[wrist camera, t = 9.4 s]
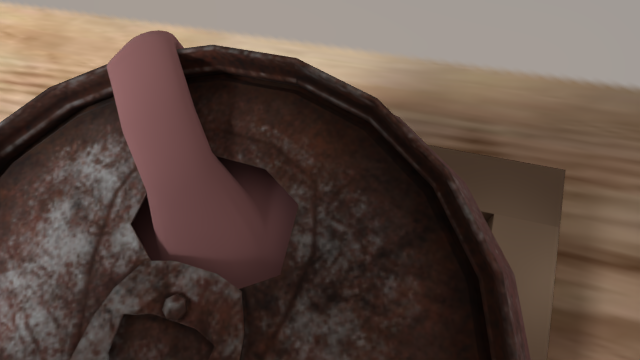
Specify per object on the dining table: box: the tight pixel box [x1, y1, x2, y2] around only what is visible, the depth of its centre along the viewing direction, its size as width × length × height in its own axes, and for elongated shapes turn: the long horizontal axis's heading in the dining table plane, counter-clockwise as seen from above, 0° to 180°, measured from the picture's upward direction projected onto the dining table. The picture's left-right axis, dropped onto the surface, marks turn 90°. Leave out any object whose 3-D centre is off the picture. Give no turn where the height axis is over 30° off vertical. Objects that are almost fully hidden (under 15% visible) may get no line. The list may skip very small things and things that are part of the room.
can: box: [0, 31, 531, 360], centre depth 10 cm, size 6×6×14 cm
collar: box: [428, 145, 565, 360], centre depth 15 cm, size 13×13×4 cm
